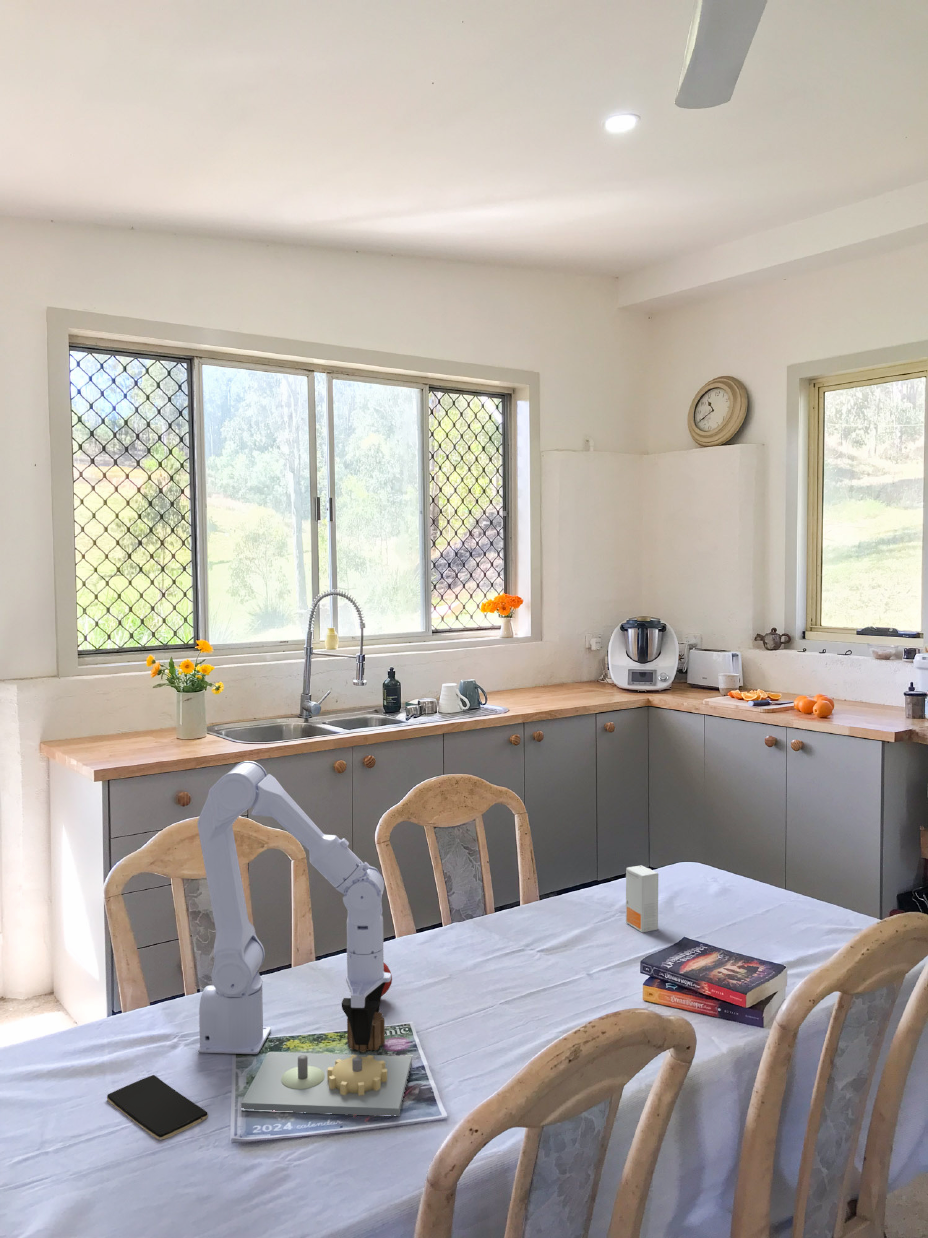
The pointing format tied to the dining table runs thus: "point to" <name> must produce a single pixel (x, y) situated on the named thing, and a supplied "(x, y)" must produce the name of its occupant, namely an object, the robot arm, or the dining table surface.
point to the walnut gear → (376, 1035)
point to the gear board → (329, 1083)
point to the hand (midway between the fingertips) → (366, 1032)
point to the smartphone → (157, 1107)
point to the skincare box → (642, 898)
